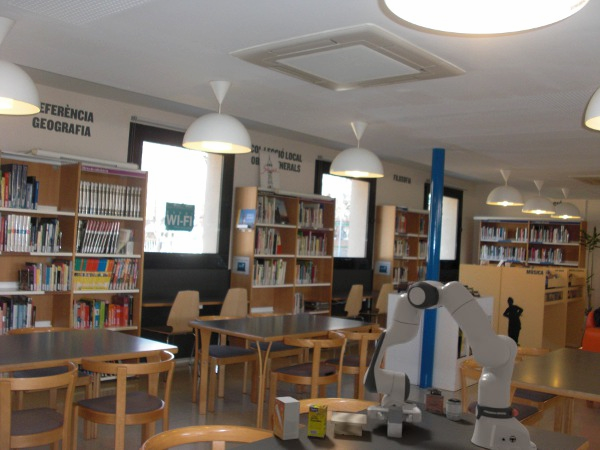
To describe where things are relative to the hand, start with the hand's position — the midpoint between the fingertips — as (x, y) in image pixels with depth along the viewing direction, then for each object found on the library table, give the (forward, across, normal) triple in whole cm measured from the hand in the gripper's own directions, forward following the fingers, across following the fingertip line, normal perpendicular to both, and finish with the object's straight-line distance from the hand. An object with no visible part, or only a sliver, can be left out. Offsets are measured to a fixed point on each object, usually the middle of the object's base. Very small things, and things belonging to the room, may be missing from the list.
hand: (395, 419), depth 239 cm
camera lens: (-33, +26, +6) cm, 42 cm away
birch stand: (-1, -17, +6) cm, 18 cm away
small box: (+12, -39, +6) cm, 41 cm away
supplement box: (+9, -28, +6) cm, 30 cm away
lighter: (-42, +19, +6) cm, 46 cm away
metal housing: (-1, 0, +6) cm, 6 cm away
